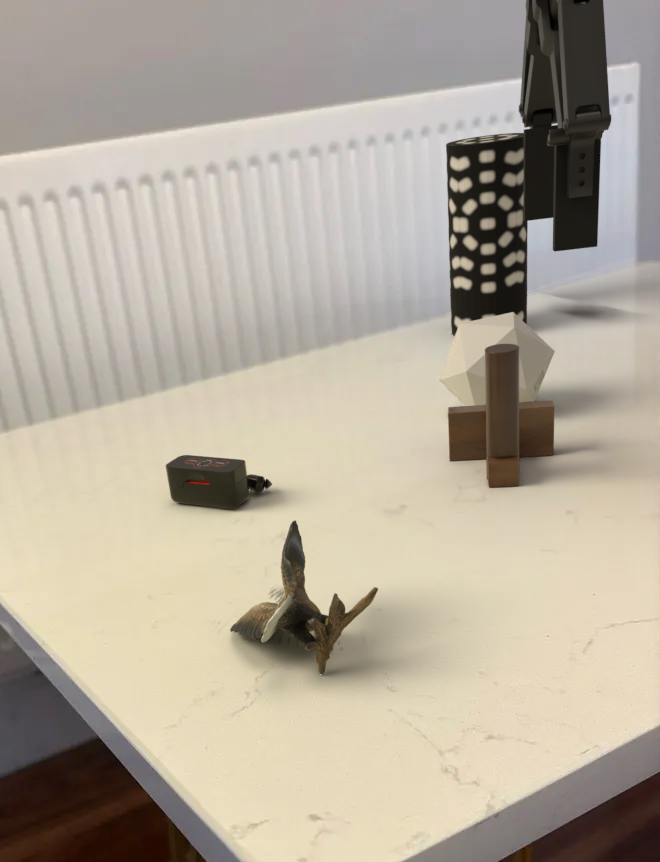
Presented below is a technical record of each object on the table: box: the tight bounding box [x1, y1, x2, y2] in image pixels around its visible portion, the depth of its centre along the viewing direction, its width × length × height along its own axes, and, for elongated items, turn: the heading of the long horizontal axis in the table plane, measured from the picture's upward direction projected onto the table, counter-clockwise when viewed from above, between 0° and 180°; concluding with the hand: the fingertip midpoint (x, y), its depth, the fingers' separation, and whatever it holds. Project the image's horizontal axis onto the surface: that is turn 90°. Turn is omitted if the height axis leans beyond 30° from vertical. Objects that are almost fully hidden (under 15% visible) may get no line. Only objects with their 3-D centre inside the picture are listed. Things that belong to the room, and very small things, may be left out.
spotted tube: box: [445, 132, 529, 336], centre depth 112 cm, size 8×8×20 cm
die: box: [439, 312, 556, 406], centre depth 91 cm, size 8×9×10 cm
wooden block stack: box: [447, 344, 555, 488], centre depth 78 cm, size 8×8×10 cm
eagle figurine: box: [229, 519, 379, 675], centre depth 59 cm, size 8×7×9 cm
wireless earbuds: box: [165, 454, 273, 510], centre depth 82 cm, size 5×7×3 cm, turn 57°
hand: (557, 232), depth 74 cm, fingers open, 13 cm apart
